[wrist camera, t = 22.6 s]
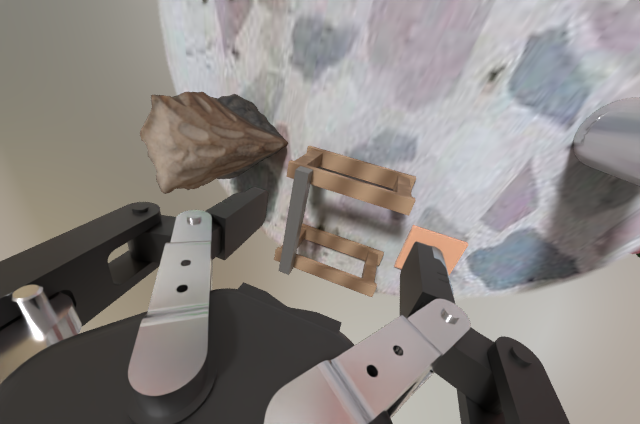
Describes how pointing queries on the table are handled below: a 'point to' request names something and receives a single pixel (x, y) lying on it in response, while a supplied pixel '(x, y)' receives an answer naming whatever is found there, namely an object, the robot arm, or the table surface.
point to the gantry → (356, 189)
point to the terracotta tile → (446, 244)
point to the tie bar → (295, 218)
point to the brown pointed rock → (205, 138)
